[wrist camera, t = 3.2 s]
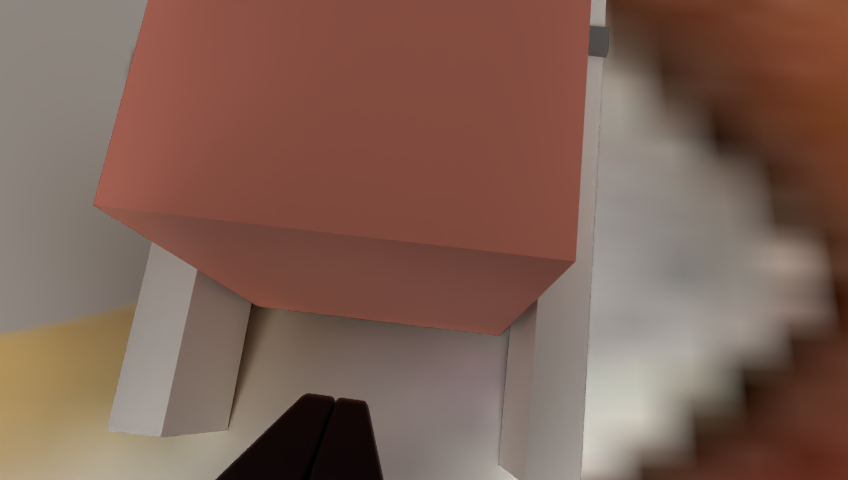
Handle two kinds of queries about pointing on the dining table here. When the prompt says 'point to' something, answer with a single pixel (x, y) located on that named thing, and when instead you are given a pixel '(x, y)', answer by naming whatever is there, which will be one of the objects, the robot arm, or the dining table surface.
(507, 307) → the plug
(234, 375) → the plug guide
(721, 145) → the dining table surface
